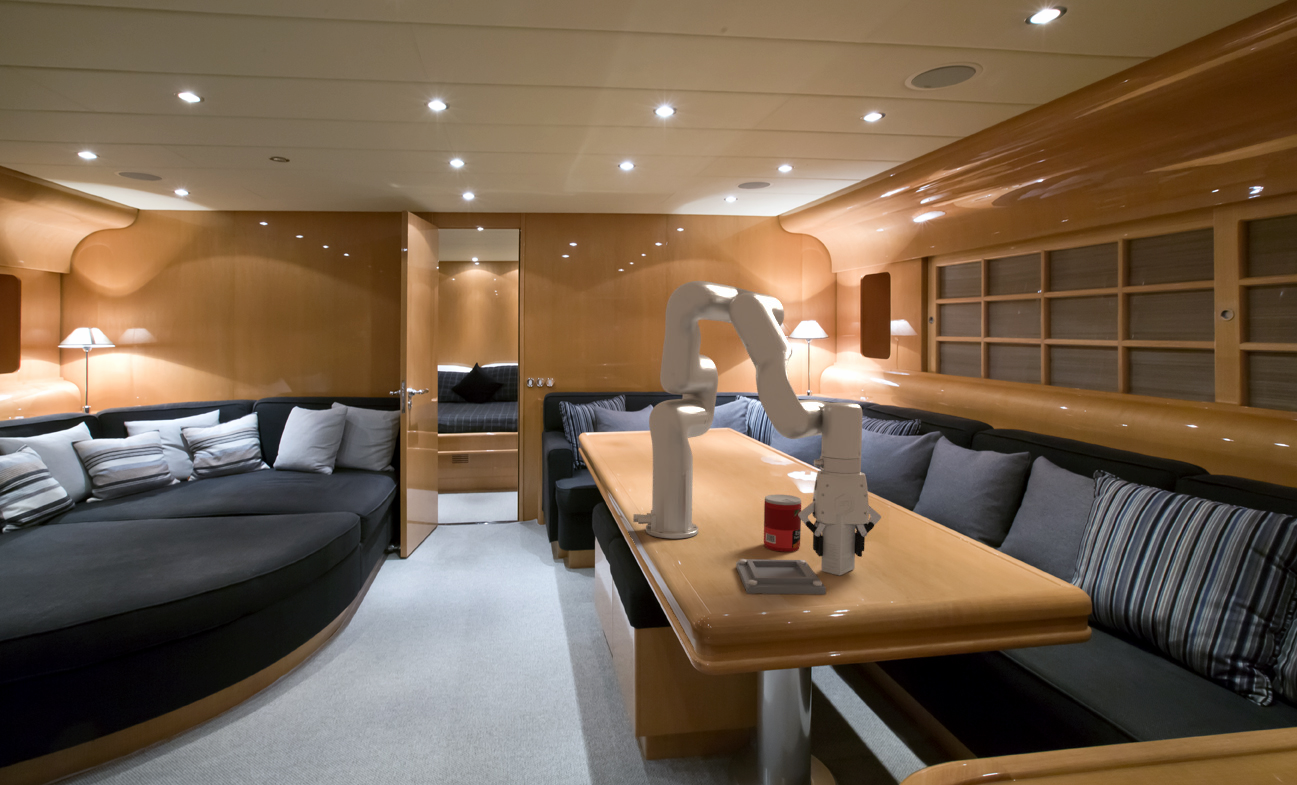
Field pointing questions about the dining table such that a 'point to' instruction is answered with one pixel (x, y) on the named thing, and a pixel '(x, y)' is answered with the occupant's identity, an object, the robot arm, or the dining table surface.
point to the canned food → (782, 523)
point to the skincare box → (838, 547)
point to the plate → (779, 577)
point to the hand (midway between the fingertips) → (838, 553)
